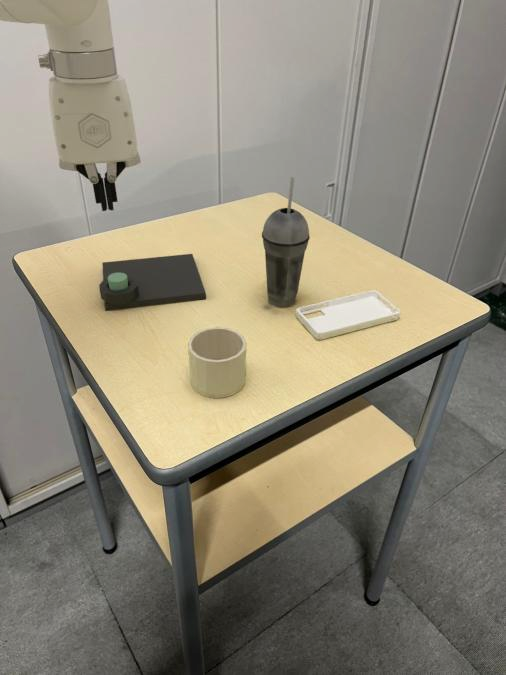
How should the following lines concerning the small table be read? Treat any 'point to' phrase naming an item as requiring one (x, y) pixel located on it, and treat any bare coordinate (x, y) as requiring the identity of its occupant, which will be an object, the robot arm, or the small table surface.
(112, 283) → the button
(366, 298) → the phone case
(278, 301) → the beverage cup
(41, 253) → the small table surface
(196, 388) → the beige cup
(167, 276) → the scale
